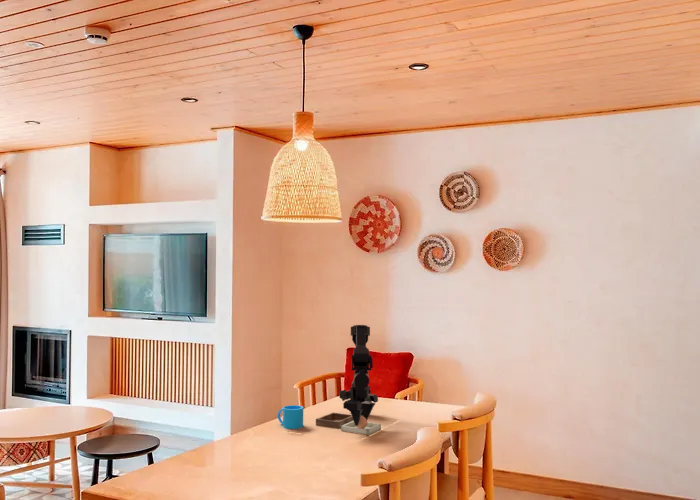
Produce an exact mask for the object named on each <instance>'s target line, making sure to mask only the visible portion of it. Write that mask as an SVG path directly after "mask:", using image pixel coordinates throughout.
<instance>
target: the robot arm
mask: <svg viewBox="0 0 700 500" xmlns="http://www.w3.org/2000/svg"><path fill="white" fill-rule="evenodd" d="M350 336H351V338H352V339H351V341H352V343H353V344H354V349H353V354H351V371H353V380H352V381H351V387H349V388H350V390H346V389H343V390H340V391H339V395H338V397H339V398H340V400H341V401H342V402H343V404H342V405H343V407H342V409H346V410H347V411H349V412H350V414H349V415H352V417H353V420H354V423H355V425H356V426H358V424H359V420H360V417H361V416H363V417H365V418H366V420H367V421H368V420H369V417H370V415H371V413H372V410H373V408H374V407H375V405H376V403H378V402H379V397H378V395H377V394H374V393H372V392H371V391H372V390H371V386H370V385H369V384H370V376H369V371H372V369H373V365H374V364H373V356H372V354H370V349H369V348H368V347H367V343H368V342H369V337H370V336H371V327H370V326H368V325H365V324H356V325H355V324H354V325H353V326H350Z"/></svg>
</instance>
